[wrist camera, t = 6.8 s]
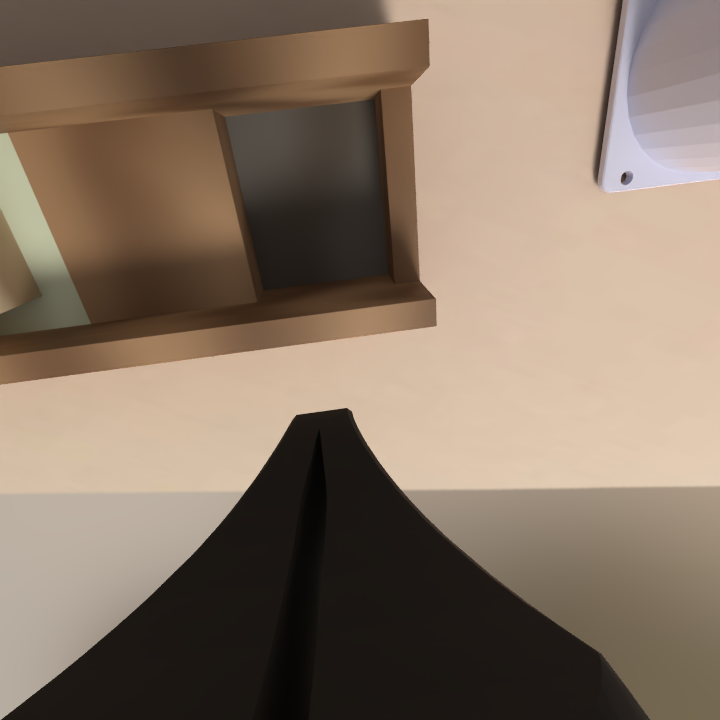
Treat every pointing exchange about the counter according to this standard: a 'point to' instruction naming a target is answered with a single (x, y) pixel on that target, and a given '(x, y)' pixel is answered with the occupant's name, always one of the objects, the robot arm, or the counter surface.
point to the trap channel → (212, 199)
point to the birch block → (14, 272)
